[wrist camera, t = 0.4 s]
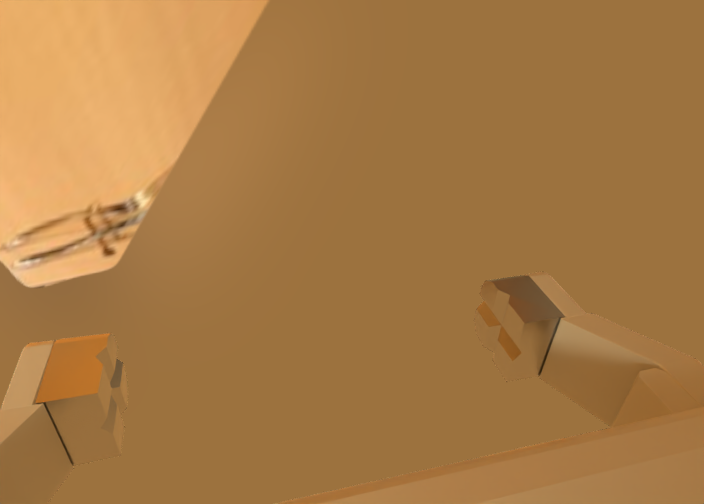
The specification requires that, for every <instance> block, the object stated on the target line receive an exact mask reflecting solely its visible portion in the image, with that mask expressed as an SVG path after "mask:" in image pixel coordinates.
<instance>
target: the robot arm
mask: <svg viewBox="0 0 704 504" xmlns="http://www.w3.org/2000/svg"><path fill="white" fill-rule="evenodd" d="M480 295H481V297H482V298H483V300H484V301H483V302H482V303H481V304H480V305H479V306H478V307H477V309H476V313H475V319H474V320H475V330H476V333H477V336H478V338H479V340H480V342H481V343H482V345H483V346H484V347H485V348H487V349H488V350H490V351H492V352H494V356H493V362H494V364H495V365H496V366H497V368H498V370H499V371H500V373H501V374H502V376H503V377H504V379H505V380H506V382H508V381H514V380H519V379H526V378H532V377H539V376H540V379H541V380H543V381H544V382H546V383H547V384H549V385H550V386H552V387H553V388H554V389H556V390H557V391H559V392H560V393H562V394H563V395H565V396H566V397H568V398H569V399H570V400H572V401H573V402H575V403H576V404H578V405H579V406H581V407H582V408H584V409H585V410H587V411H588V412H589V413H591V414H592V415H594V416H595V417H597V418H598V419H600V420H601V421H602V422H604V423H605V424H607V425H608V426H610V427H611V428H606V429H602V430H598V431H594V432H588V433H585V434H580V435H576V436H571V437H566V438H562V439H557V440H553V441H549V442H544V443H540V444H536V445H531V446H527V447H522V448H518V449H513V450H509V451H505V452H501V453H496V454H491V455H487V456H483V457H478V458H474V459H470V460H465V461H461V462H456V463H452V464H447V465H443V466H439V467H434V468H430V469H425V470H421V471H417V472H412V473H408V474H403V475H399V476H395V477H390V478H385V479H381V480H377V481H372V482H368V483H363V484H359V485H355V486H351V487H346V488H341V489H337V490H333V491H328V492H324V493H319V494H315V495H311V496H306V497H301V498H297V499H292V500H288V501H283V502H279V503H275V504H704V366H703V365H702V364H701V363H700V362H699V361H698V360H697V359H695V358H693V357H691V356H688V355H686V354H684V353H682V352H679V351H677V350H675V349H673V348H670V347H668V346H666V345H663V344H661V343H659V342H657V341H654V340H652V339H650V338H648V337H645V336H643V335H641V334H638V333H636V332H634V331H632V330H630V329H627V328H625V327H623V326H620V325H618V324H616V323H614V322H611V321H609V320H607V319H605V318H602V317H600V316H598V315H595V314H593V313H590V314H586V313H585V312H584V311H583V310H582V309H581V308H580V307H579V305H578V304H577V303H576V302H575V301H574V300H573V299H572V298H571V297H570V296H569V295H568V294H567V293H566V292H565V291H564V290H563V289H562V288H561V287H560V286H559V285H558V283H557V282H556V281H555V280H554V279H553V278H552V277H551V276H550V275H549V274H547V273H545V272H537V273H531V274H525V275H520V276H514V277H507V278H500V279H493V280H486V281H485V282H484V283H483V285H482V287H481V291H480ZM117 352H118V345H117V342H116V339H115V337H114V335H113V334H111V333H107V334H99V335H90V336H82V337H73V338H65V339H57V340H52V341H44V342H35V343H28V344H27V345H26V346H25V348H24V349H23V350H22V353H21V356H20V358H19V361H18V364H17V366H16V369H15V372H14V374H13V377H12V380H11V382H10V386H9V388H8V391H7V393H6V396H5V399H4V402H3V404H2V407H1V410H0V504H48V502H49V501H50V500H51V498H52V497H53V496H54V494H55V493H56V492H57V490H58V489H59V488H60V486H61V485H62V483H63V482H64V481H65V479H66V478H67V477H68V475H69V474H70V473H71V471H72V470H73V469H74V468H73V466H75V465H80V464H84V463H89V462H93V461H98V460H103V459H107V458H112V457H117V456H120V455H121V451H122V443H123V435H124V427H125V426H124V424H123V420H122V417H121V414H122V413H123V412H124V411H125V410H126V409H127V401H128V381H127V375H126V370H125V367H124V364H123V362H121V361H120V360H118V359H117Z"/></svg>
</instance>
